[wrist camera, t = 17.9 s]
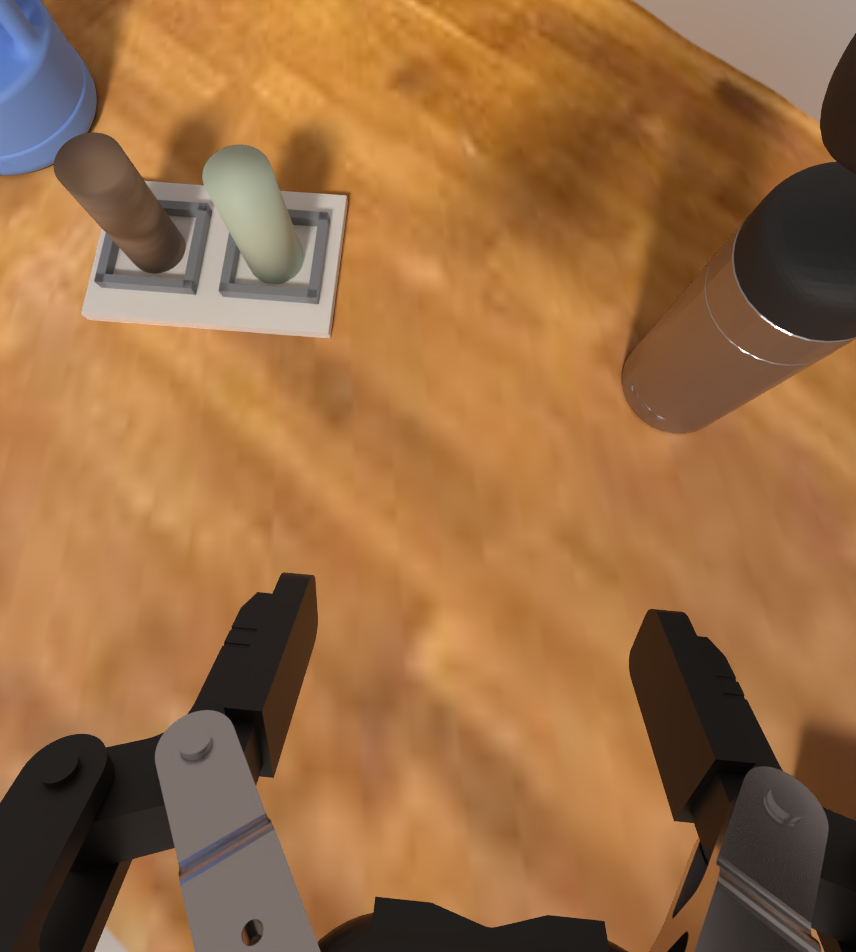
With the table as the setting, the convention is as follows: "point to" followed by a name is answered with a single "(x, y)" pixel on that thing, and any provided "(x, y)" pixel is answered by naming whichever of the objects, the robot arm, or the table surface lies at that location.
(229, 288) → the base plate
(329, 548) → the table surface
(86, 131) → the water jug
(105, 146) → the walnut column
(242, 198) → the sage column
